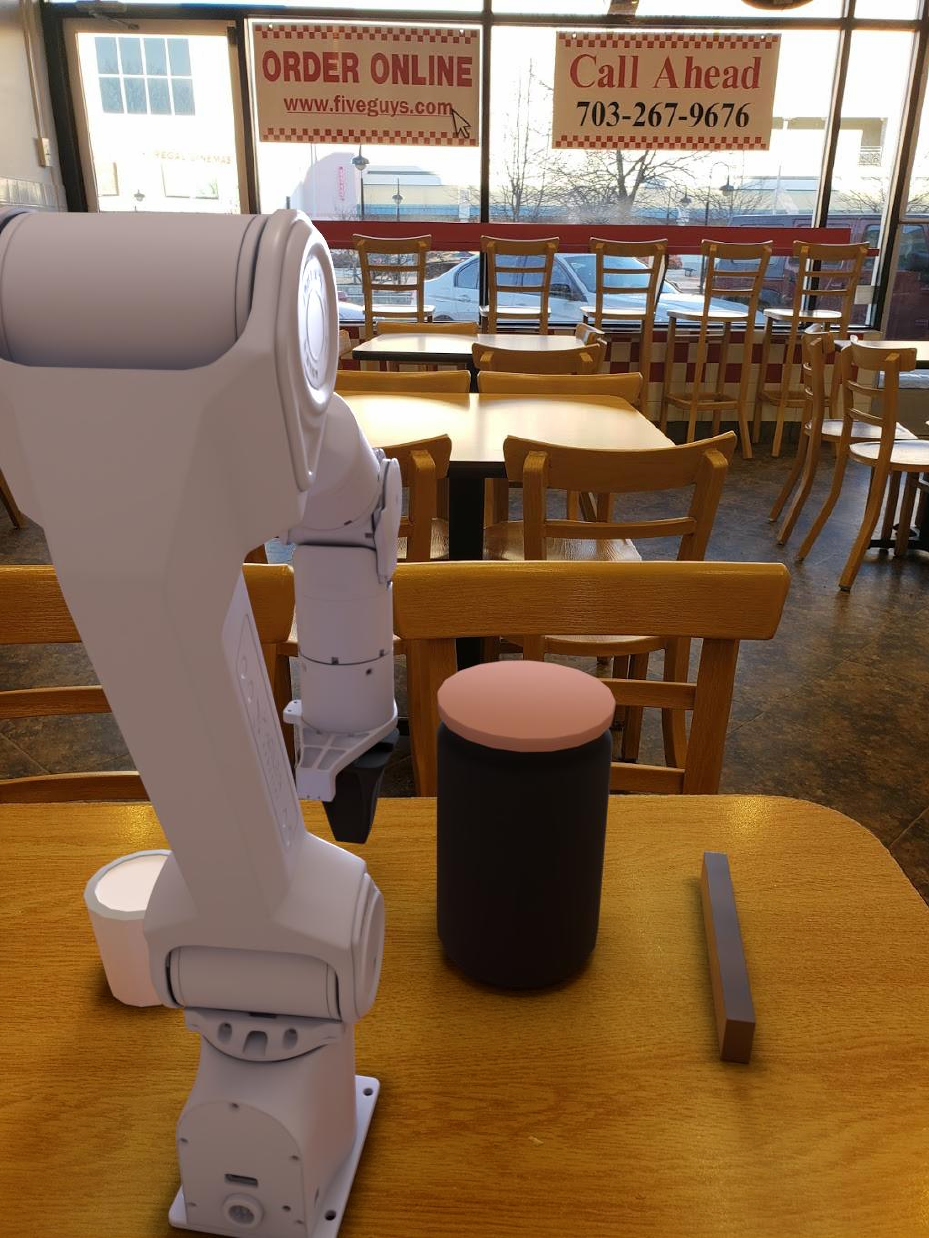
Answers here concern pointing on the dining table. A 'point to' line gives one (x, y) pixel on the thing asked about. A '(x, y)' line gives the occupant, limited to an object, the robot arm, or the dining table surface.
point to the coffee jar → (521, 819)
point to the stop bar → (726, 961)
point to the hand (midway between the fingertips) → (352, 836)
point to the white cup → (125, 922)
